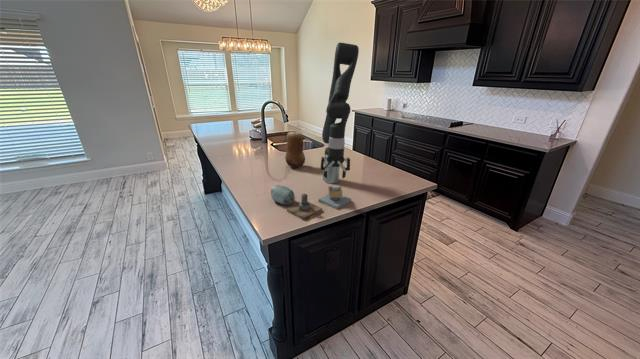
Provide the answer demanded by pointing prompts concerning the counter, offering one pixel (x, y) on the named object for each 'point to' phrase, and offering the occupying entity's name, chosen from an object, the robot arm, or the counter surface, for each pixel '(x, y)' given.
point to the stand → (304, 209)
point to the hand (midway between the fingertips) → (334, 177)
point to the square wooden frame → (335, 192)
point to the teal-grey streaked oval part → (282, 195)
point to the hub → (335, 199)
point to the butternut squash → (295, 150)
